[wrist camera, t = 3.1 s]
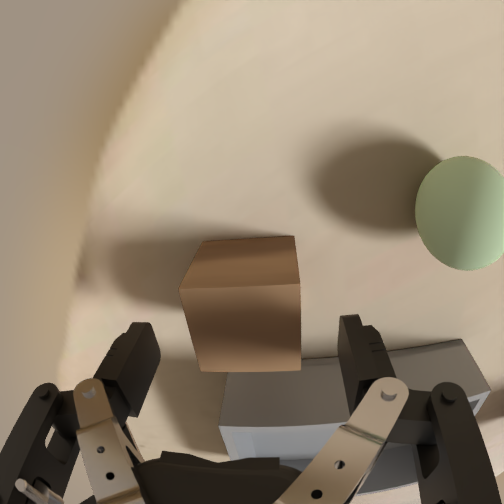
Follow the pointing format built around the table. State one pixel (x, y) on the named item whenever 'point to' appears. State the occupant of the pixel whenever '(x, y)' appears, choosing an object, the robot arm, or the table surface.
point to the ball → (462, 213)
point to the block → (244, 305)
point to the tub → (333, 408)
